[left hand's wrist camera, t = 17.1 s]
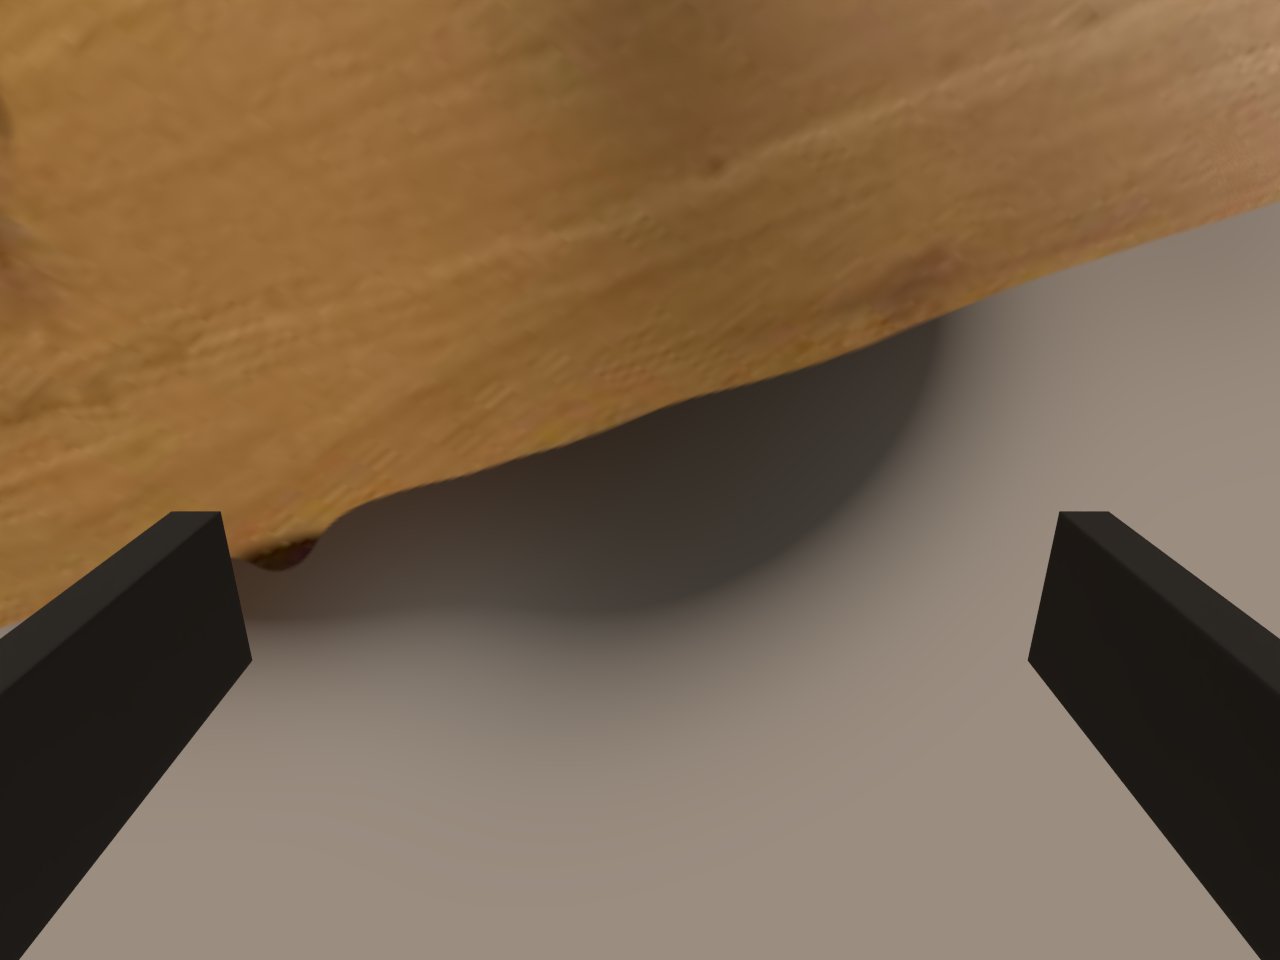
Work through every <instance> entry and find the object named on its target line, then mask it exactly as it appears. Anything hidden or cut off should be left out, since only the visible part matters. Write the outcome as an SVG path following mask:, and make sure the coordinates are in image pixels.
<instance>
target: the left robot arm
mask: <svg viewBox="0 0 1280 960" xmlns="http://www.w3.org/2000/svg"><path fill="white" fill-rule="evenodd" d="M251 661H252V657H251V652H250V648H249V643H248V638H247V634H246V629H245V624H244V619H243V615H242V610H241V605H240V601H239V596H238V591H237V586H236V582H235V577H234V573H233V568H232V563H231V558H230V554H229V549H228V544H227V540H226V535H225V530H224V526H223V521H222V516H221V512H170V513H169V514H168V515H166V516H165V517H164V518H162V519H161V520H159V521H158V522H157V523H155V524H154V525H153V526H151V527H150V528H149V529H147V530H146V531H145V532H143V533H142V534H141V535H139V536H138V537H137V538H135V539H134V540H133V541H131V542H130V543H129V544H127V545H126V546H125V547H123V548H122V549H120V550H119V551H118V552H116V553H115V554H114V555H112V556H111V557H110V558H108V559H107V560H106V561H104V562H103V563H102V564H100V565H99V566H98V567H96V568H95V569H94V570H92V571H91V572H90V573H88V574H87V575H86V576H84V577H83V578H82V579H80V580H79V581H77V582H76V583H75V584H73V585H72V586H71V587H69V588H68V589H67V590H65V591H64V592H63V593H61V594H60V595H59V596H57V597H56V598H55V599H53V600H52V601H51V602H49V603H48V604H47V605H45V606H44V607H43V608H41V609H40V610H39V611H37V612H36V613H34V614H33V615H32V616H30V617H29V618H28V619H26V620H25V621H24V622H22V623H21V624H20V625H18V626H17V627H16V628H14V629H13V630H12V631H10V632H9V633H8V634H6V635H5V636H4V637H2V638H1V639H0V960H19V959H20V958H21V957H22V955H23V954H24V953H25V951H26V950H27V949H28V948H29V946H30V945H31V944H32V942H33V941H34V940H35V939H36V937H37V936H38V935H39V933H40V932H41V931H42V930H43V928H44V927H45V926H46V924H47V923H48V922H49V921H50V919H51V918H52V917H53V915H54V914H55V913H56V912H57V910H58V909H59V908H60V907H61V905H62V904H63V903H64V901H65V900H66V899H67V898H68V896H69V895H70V894H71V892H72V891H73V890H74V889H75V887H76V886H77V885H78V883H79V882H80V881H81V880H82V878H83V877H84V876H85V874H86V873H87V872H88V871H89V869H90V868H91V867H92V865H93V864H94V863H95V862H96V860H97V859H98V858H99V856H100V855H101V854H102V853H103V851H104V850H105V849H106V847H107V846H108V845H109V844H110V842H111V841H112V840H113V839H114V837H115V836H116V835H117V833H118V832H119V831H120V830H121V828H122V827H123V826H124V824H125V823H126V822H127V820H128V819H129V818H130V817H131V815H132V814H133V813H134V812H135V810H136V809H137V808H138V806H139V805H140V804H141V803H142V801H143V800H144V799H145V797H146V796H147V795H148V794H149V792H150V791H151V790H152V788H153V787H154V786H155V785H156V783H157V782H158V781H159V779H160V778H161V777H162V776H163V774H164V773H165V772H166V771H167V769H168V768H169V767H170V765H171V764H172V763H173V762H174V760H175V759H176V758H177V756H178V755H179V754H180V753H181V751H182V750H183V749H184V747H185V746H186V745H187V744H188V742H189V741H190V740H191V738H192V737H193V736H194V735H195V733H196V732H197V731H198V729H199V728H200V727H201V726H202V724H203V723H204V722H205V720H206V719H207V718H208V717H209V715H210V714H211V713H212V711H213V710H214V709H215V708H216V706H217V705H218V704H219V702H220V701H221V700H222V699H223V697H224V696H225V695H226V694H227V692H228V691H229V690H230V688H231V687H232V686H233V684H234V683H235V682H236V681H237V679H238V678H239V677H240V675H241V674H242V673H243V672H244V670H245V669H246V668H247V667H248V665H249V664H250V663H251ZM1028 661H1029V663H1030V664H1031V665H1032V667H1033V668H1034V669H1035V670H1036V672H1037V673H1038V674H1039V676H1040V677H1041V678H1042V679H1043V681H1044V682H1045V683H1046V685H1047V686H1048V687H1049V688H1050V690H1051V691H1052V692H1053V693H1054V695H1055V696H1056V697H1057V699H1058V700H1059V701H1060V703H1061V704H1062V705H1063V706H1064V708H1065V709H1066V710H1067V711H1068V713H1069V714H1070V715H1071V717H1072V718H1073V719H1074V720H1075V722H1076V723H1077V724H1078V726H1079V727H1080V728H1081V729H1082V731H1083V732H1084V733H1085V735H1086V736H1087V737H1088V738H1089V740H1090V741H1091V742H1092V744H1093V745H1094V746H1095V747H1096V749H1097V750H1098V751H1099V752H1100V754H1101V755H1102V756H1103V758H1104V759H1105V760H1106V762H1107V763H1108V764H1109V765H1110V767H1111V768H1112V769H1113V770H1114V772H1115V773H1116V774H1117V776H1118V777H1119V778H1120V779H1121V781H1122V782H1123V783H1124V785H1125V786H1126V787H1127V788H1128V790H1129V791H1130V792H1131V794H1132V795H1133V796H1134V797H1135V799H1136V800H1137V801H1138V803H1139V804H1140V805H1141V806H1142V808H1143V809H1144V810H1145V812H1146V813H1147V814H1148V815H1149V817H1150V818H1151V819H1152V821H1153V822H1154V823H1155V824H1156V826H1157V827H1158V828H1159V830H1160V831H1161V832H1162V833H1163V835H1164V836H1165V837H1166V838H1167V840H1168V841H1169V842H1170V844H1171V845H1172V846H1173V847H1174V849H1175V850H1176V851H1177V853H1178V854H1179V855H1180V856H1181V858H1182V859H1183V860H1184V862H1185V863H1186V864H1187V865H1188V867H1189V868H1190V869H1191V871H1192V872H1193V873H1194V874H1195V876H1196V877H1197V878H1198V880H1199V881H1200V882H1201V883H1202V885H1203V886H1204V887H1205V888H1206V890H1207V891H1208V892H1209V894H1210V895H1211V896H1212V898H1213V899H1214V900H1215V901H1216V903H1217V904H1218V905H1219V907H1220V908H1221V909H1222V910H1223V912H1224V913H1225V914H1226V915H1227V917H1228V918H1229V919H1230V921H1231V922H1232V923H1233V924H1234V926H1235V927H1236V928H1237V930H1238V931H1239V932H1240V933H1241V935H1242V936H1243V937H1244V939H1245V940H1246V941H1247V942H1248V944H1249V945H1250V946H1251V948H1252V949H1253V950H1254V951H1255V953H1256V954H1257V955H1258V957H1259V958H1260V959H1261V960H1280V639H1279V638H1278V637H1276V636H1275V635H1274V634H1272V633H1271V632H1270V631H1268V630H1267V629H1266V628H1264V627H1263V626H1262V625H1260V624H1259V623H1258V622H1256V621H1255V620H1254V619H1252V618H1251V617H1250V616H1248V615H1247V614H1246V613H1244V612H1243V611H1241V610H1240V609H1239V608H1237V607H1236V606H1235V605H1233V604H1232V603H1231V602H1229V601H1228V600H1227V599H1225V598H1224V597H1223V596H1221V595H1220V594H1219V593H1217V592H1216V591H1215V590H1213V589H1212V588H1210V587H1209V586H1208V585H1206V584H1205V583H1204V582H1202V581H1201V580H1200V579H1198V578H1197V577H1196V576H1194V575H1193V574H1192V573H1190V572H1189V571H1188V570H1186V569H1185V568H1184V567H1182V566H1181V565H1180V564H1178V563H1177V562H1176V561H1174V560H1173V559H1172V558H1170V557H1169V556H1168V555H1166V554H1165V553H1163V552H1162V551H1161V550H1160V549H1158V548H1157V547H1155V546H1154V545H1153V544H1151V543H1150V542H1149V541H1147V540H1146V539H1145V538H1143V537H1142V536H1141V535H1139V534H1138V533H1137V532H1135V531H1134V530H1133V529H1131V528H1130V527H1129V526H1127V525H1126V524H1125V523H1123V522H1122V521H1121V520H1119V519H1118V518H1116V517H1115V516H1114V515H1112V514H1111V513H1110V512H1059V516H1058V521H1057V526H1056V530H1055V535H1054V540H1053V544H1052V549H1051V554H1050V558H1049V563H1048V568H1047V573H1046V577H1045V582H1044V587H1043V591H1042V596H1041V601H1040V605H1039V610H1038V615H1037V619H1036V624H1035V629H1034V633H1033V638H1032V643H1031V647H1030V652H1029V657H1028Z"/></svg>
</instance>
